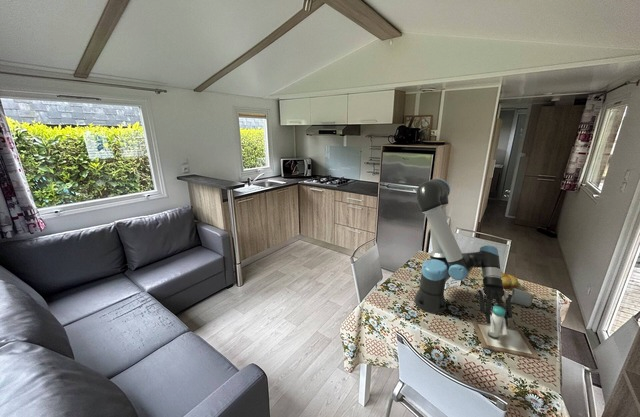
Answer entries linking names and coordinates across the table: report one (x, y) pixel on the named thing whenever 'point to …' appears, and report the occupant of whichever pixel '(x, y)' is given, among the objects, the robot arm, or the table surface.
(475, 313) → the table surface
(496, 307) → the marker
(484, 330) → the writing pad
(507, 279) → the bread roll
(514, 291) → the ceramic mug
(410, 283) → the table surface
